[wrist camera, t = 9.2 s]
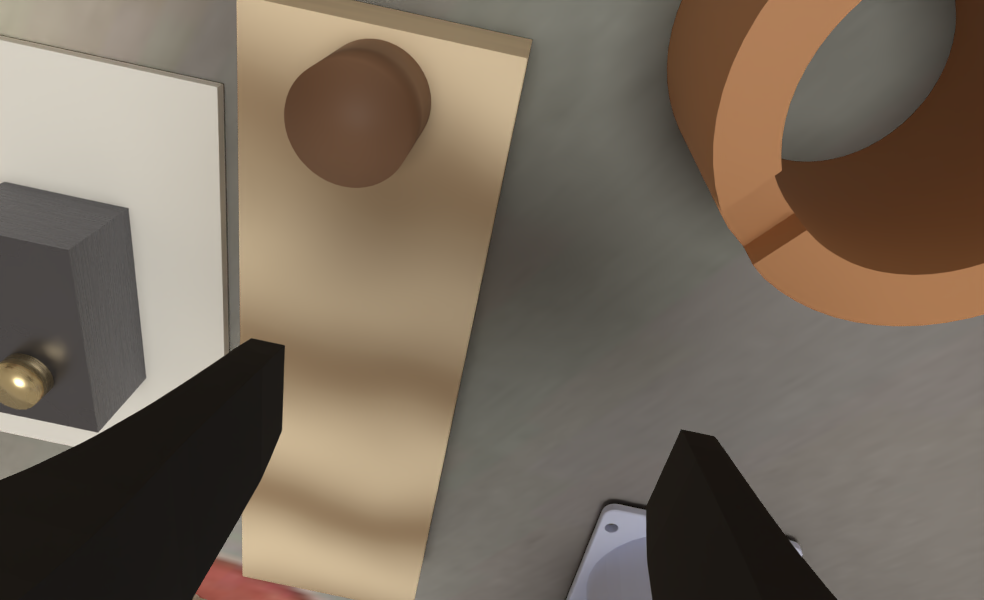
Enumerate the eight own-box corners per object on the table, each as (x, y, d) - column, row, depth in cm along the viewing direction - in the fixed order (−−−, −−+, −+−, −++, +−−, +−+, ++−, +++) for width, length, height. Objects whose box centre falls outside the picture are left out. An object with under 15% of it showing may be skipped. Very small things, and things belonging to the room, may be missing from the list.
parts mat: (231, 471, 28) (227, 478, 27) (-8, 421, 28) (-15, 427, 27) (223, 84, 19) (216, 87, 19) (-119, 9, 19) (-131, 11, 19)
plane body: (423, 559, 29) (398, 671, 25) (266, 526, 29) (214, 633, 25) (532, 39, 18) (521, 82, 14) (276, -17, 18) (184, 8, 14)
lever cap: (146, 378, 25) (83, 449, 22) (40, 355, 25) (-39, 423, 22) (128, 208, 21) (49, 263, 18) (4, 181, 21) (-97, 232, 18)
